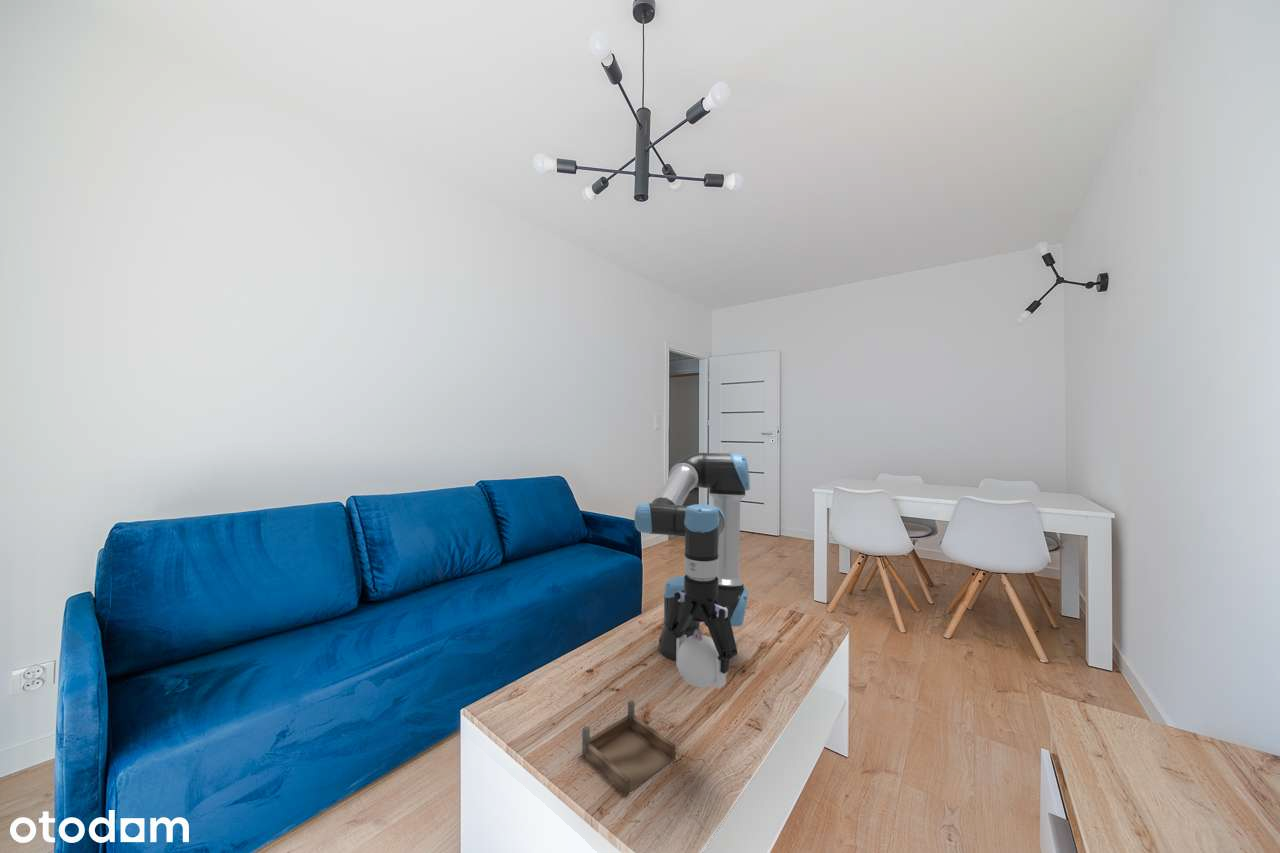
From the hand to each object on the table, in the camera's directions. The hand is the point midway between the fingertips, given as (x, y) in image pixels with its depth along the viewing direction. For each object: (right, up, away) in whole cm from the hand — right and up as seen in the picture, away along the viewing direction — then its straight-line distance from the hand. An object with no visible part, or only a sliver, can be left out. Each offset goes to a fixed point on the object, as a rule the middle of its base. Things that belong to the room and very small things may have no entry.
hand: (700, 675), depth 96 cm
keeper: (-16, -18, -1) cm, 24 cm away
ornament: (0, -2, 0) cm, 2 cm away
